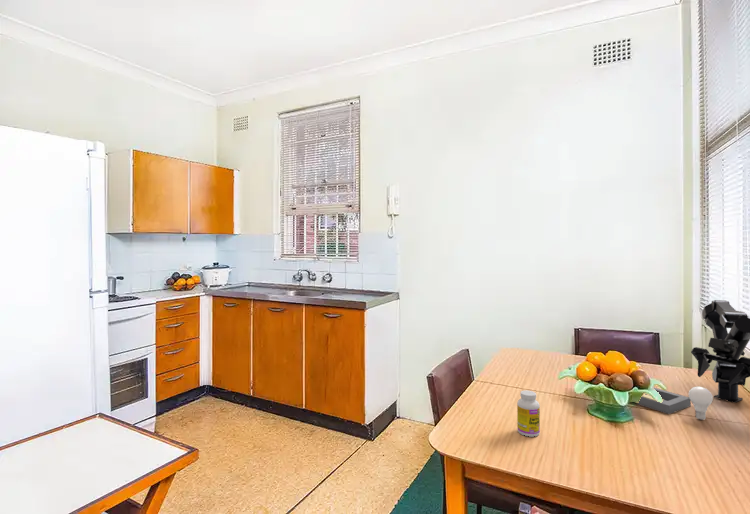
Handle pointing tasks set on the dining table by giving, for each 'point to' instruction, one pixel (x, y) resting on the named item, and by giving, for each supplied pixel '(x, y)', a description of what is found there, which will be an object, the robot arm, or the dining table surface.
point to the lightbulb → (700, 400)
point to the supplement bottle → (528, 414)
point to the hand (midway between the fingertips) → (713, 380)
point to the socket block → (666, 402)
